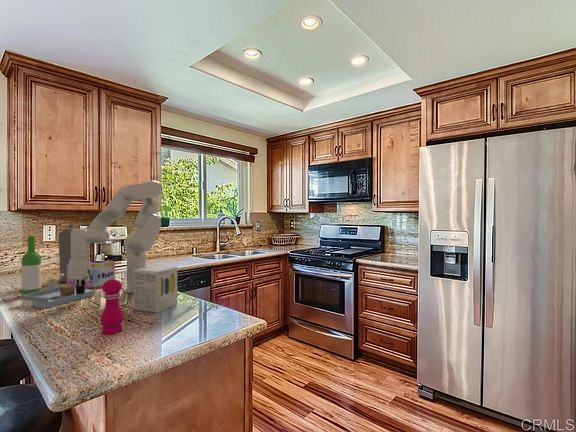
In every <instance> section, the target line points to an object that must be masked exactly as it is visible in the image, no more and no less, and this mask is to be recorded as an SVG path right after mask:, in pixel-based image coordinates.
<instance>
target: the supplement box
mask: <svg viewBox="0 0 576 432" xmlns="http://www.w3.org/2000/svg"><path fill="white" fill-rule="evenodd" d="M174 305H175V306H177V305H178V266H171V265H170V266H169V265H158V264H157V265H156V264H155V265H152V266H146V267H145V268H140V269H136V270H134V293H133V310H136V311H142V312H152V313H157V314H158V313H159V312H162V311H164V310H167V309H169V307H170V308H172V307H175V306H174Z"/></svg>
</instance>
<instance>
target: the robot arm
mask: <svg viewBox="0 0 576 432" xmlns="http://www.w3.org/2000/svg"><path fill="white" fill-rule="evenodd" d="M163 190H164V187H163V185H162V183H161V182H160V181H158V180H157V181H156V180H151V181H150V180H149V181H143V182H141V183H136V184H135V183H133V184H125V185H122V186H121V187H120V188H119V189H118V190H117V192H116V193H115V194H114V196H113V197H112V198H111V200H110V201H109V203H108V204H107V206H106V207H105V208H104V209H102V211H101V212H100V213H98V215H97V216H95V218H93V219H92V221H91V223H89V225H88V227H87V228H76V229H74V230H72V231H71V258H70V260H69V265H68V278H69V279H71V281H74V283H75V286H76V294H78V295H80V294H83V293H85V289H86V288H85V285H86V283H87V282H90V278H91V276H92V267H91V262H92V261H91V257H90V255H91V249H90V248H91V247H90V245H91V244H98V245H99V244H105V243H106V242H108V241H109V240H110V232H109V231H108V230H107V228H108V227H109V226H110V225H111V224H112V223H113V222H115V221H118V219H120V218H122V217H123V216H124V215H125V213H126V211H127V209H128V208H129V207H130V205H131V204H132V202H136V201H142V204H141V207H140V209H139V212H138V214H137V217H136V219H135V222H134V225H135V228H136V229H137V230H139V231H135V232H130V233H129V234H127V235H126V237H125V240H124V246H125V254H126V287H125V288H123V290H122V292H123V293H126V294H134V270H136V269H140V268H145V267H147V254H146V251H149V250H150V249H152V248H153V247H154V244H155V242H156V240H157V238H158V235H159V233H160V230H161V227H162V220H161V218H160V217H159V215H157V212H158V210H159V206H160V205H159V199H158V197H159V196H160V195H161V194H162V193H163Z"/></svg>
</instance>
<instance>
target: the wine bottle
mask: <svg viewBox="0 0 576 432" xmlns="http://www.w3.org/2000/svg"><path fill="white" fill-rule="evenodd" d="M38 291H42V257H41V255H40V254H39V253H38V252H37V251H36V236H35V235H28V236H27V251H26V252H25V253H24V254H23V255H22V257H21V295H24V294H29V293H33V292H38Z"/></svg>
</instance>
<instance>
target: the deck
mask: <svg viewBox="0 0 576 432" xmlns="http://www.w3.org/2000/svg"><path fill="white" fill-rule="evenodd" d="M64 286H73V284H69V285H67V284H66V285H61V286H58V287H56V288H51V289H48V288H47V289H43V290H42V289H41V291H38V292H33V293H29V294H24V295H22V294H21V296H20V298H21V299H20V300H21V301H20V302H21V303H20V305H21V306H25V307H26V306H27V307H34V308H42V309H49V308H53V307H56V306H61V305H65V304H67V303H71V302H75V301H79V300H81V299H86V298H91V297H93V296H96V290H95V289H90V288H85V293H83V294H80V295H78V294H76V288H75V294H74V295H70V296H60V287H64Z"/></svg>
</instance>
